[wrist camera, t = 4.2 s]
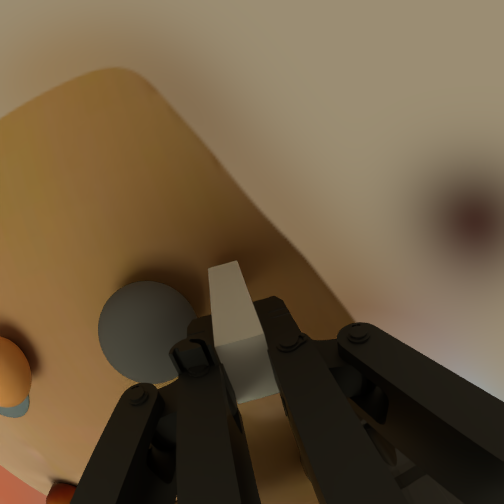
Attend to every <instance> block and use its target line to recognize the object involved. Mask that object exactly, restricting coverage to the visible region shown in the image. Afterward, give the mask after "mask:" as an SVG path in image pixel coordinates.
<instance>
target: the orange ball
mask: <svg viewBox="0 0 504 504" xmlns="http://www.w3.org/2000/svg"><path fill="white" fill-rule="evenodd" d="M31 382H32V378H31V370H30V366H29V363H28V361H27V359H26V357H25V355H24V353H23V352H22V351H21V349H20V348H19V347H18V346H17V345H16V344H14V343H13V342H12V341H10V340H8V339H6V338H4V337H0V407H14V406H17V405H19V404H20V403H22V402H23V401H24V400H25V399H26V397H27V396H28V394H29V391H30V388H31Z"/></svg>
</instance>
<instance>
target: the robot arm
mask: <svg viewBox="0 0 504 504" xmlns="http://www.w3.org/2000/svg"><path fill="white" fill-rule="evenodd" d="M208 275H209V288H210V301H211V313H212V315H208V316H204V317H200V318H196V319H192V321H191V322H190V324H189V325H188V327H187V338H185V339H183V340H181V341H179V342H178V343H176V344H175V345H174V346H173V347H172V348H171V349H170V351H169V354H168V355H169V357H170V359H171V361H172V363H173V365H174V367H175V369H176V371H177V373H178V379H177V380H176V381H174V382H173V383H171V384H169V385H167V386H164V387H162V388H160V389H157V388H156V387H155V386H154V385H153V384H151V383H138V384H136V385H133V386H131V387H130V388H128V389H127V390H126V391H125V392H124V393H123V395H122V396H121V398H120V400H119V402H118V403H117V405H116V407H115V409H114V411H113V413H112V415H111V417H110V419H109V421H108V423H107V425H106V427H105V429H104V431H103V433H102V435H101V437H100V439H99V441H98V443H97V445H96V447H95V449H94V451H93V453H92V455H91V457H90V460H89V462H88V464H87V466H86V468H85V470H84V472H83V475H82V477H81V479H80V481H79V483H78V485H77V488H76V490H75V492H74V494H73V497H72V499H71V501H70V504H175V500H176V496H177V504H261V502H260V497H259V493H258V489H257V485H256V481H255V477H254V472H253V468H252V464H251V459H250V455H249V450H248V445H247V441H246V436H245V431H244V427H243V422H242V417H241V414H240V412H239V409H238V407H237V402H238V404H240V403H244V402H248V401H252V400H255V399H259V398H263V397H266V396H270V395H273V394H276V393H280V396H281V399H282V403H283V407H284V410H285V414H286V416H287V417H288V420H289V423H290V426H291V428H292V431H293V434H294V437H295V439H296V442H297V445H298V448H299V450H300V453H301V455H300V460H301V463H302V466H303V469H304V471H305V474H306V476H307V478H308V479H309V480H310V481H311V482H312V485H313V488H314V490H315V493H316V496H317V498H318V501H319V503H320V504H504V402H503V401H501V400H499V399H498V398H496V397H494V396H492V395H491V394H489V393H487V392H486V391H484V390H482V389H481V388H479V387H477V386H476V385H474V384H472V383H470V382H469V381H467V380H465V379H464V378H462V377H460V376H459V375H457V374H455V373H453V372H452V371H450V370H448V369H447V368H445V367H443V366H442V365H440V364H438V363H437V362H435V361H433V360H432V359H430V358H428V357H427V356H425V355H423V354H421V353H420V352H418V351H416V350H415V349H413V348H411V347H410V346H408V345H406V344H405V343H402V342H401V341H399V340H398V339H396V338H394V337H392V336H391V335H389V334H388V333H386V332H384V331H383V330H381V329H379V328H378V327H376V326H374V325H372V324H369V323H361V322H359V323H352V324H350V325H347V326H345V327H344V328H342V329H341V330H340V331H339V333H338V335H337V339H332V340H322V341H318V340H312V339H310V337H308V336H307V335H306V334H304V333H301V331H300V329H299V328H298V326H297V324H296V322H295V321H294V319H293V317H292V316H291V314H290V313H289V310H288V309H287V308H286V305H285V304H284V302H283V300H281V299H279V298H278V297H276V296H272V297H269V298H265V299H262V300H258V301H255V302H252V300H251V297H250V295H249V292H248V289H247V286H246V284H245V281H244V278H243V275H242V273H241V270H240V267H239V264H238V262H237V260H236V261H233V262H229V263H225V264H222V265H218V266H215V267H211V268H208ZM236 400H237V402H236Z"/></svg>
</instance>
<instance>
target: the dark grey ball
mask: <svg viewBox="0 0 504 504" xmlns="http://www.w3.org/2000/svg"><path fill="white" fill-rule="evenodd" d="M196 318H197V316H196V314H195V312H194V310H193V308H192V306H191V305H190V303H189V302H188V301H187V300H186V299H185V297H184V296H183V295H181V294H180V293H179V292H178V291H176V290H175V289H173V288H172V287H170V286H168V285H165V284H163V283H159V282H154V281H139V282H134V283H131V284H128V285H125V286H124V287H122V288H120V289H119V290H117V291H116V292H115V293H114V294H113V295H112V296H111V297H110V298H109V299H108V300H107V302H106V304H105V305H104V307H103V309H102V312H101V314H100V318H99V324H98V335H99V341H100V345H101V348H102V351H103V353H104V355H105V357H106V358H107V360H108V361H109V363H110V364H111V365H112V366H113V367H114V368H115V369H116V370H117V371H118V372H119V373H121V374H122V375H123V376H125V377H127V378H129V379H131V380H133V381H136V382H140V383H151V384H158V383H163V382H167V381H169V380H172V379H174V378H176V377H177V376H178V373H177V371H176V369H175V367H174V365H173V363H172V361H171V359H170V357H169V355H168V354H169V351H170V349H171V348H172V347H173V346H174V345H175V344H176V343H178V342H179V341H181V340H183V339H185V338H187V327H188V325H189V324H190V322H191V321H192V319H196Z"/></svg>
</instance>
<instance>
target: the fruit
mask: <svg viewBox="0 0 504 504" xmlns="http://www.w3.org/2000/svg"><path fill="white" fill-rule="evenodd" d="M76 488H77V487H75V486H73V485H70V484H65V483H55V482H54V484H53V486H52V487H51V489H50V491H49V494H48V496H47V498H46V504H70V501H71V499H72V497H73V494H74V492H75V490H76Z"/></svg>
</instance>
